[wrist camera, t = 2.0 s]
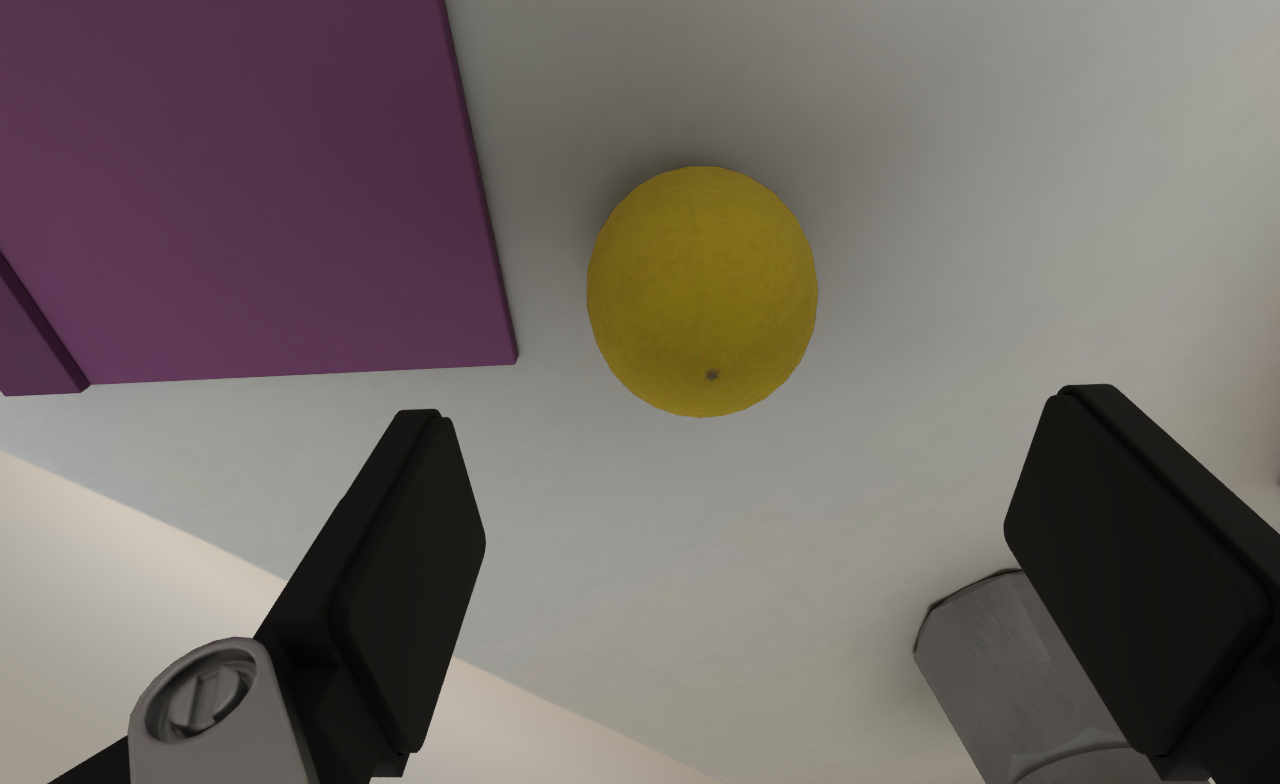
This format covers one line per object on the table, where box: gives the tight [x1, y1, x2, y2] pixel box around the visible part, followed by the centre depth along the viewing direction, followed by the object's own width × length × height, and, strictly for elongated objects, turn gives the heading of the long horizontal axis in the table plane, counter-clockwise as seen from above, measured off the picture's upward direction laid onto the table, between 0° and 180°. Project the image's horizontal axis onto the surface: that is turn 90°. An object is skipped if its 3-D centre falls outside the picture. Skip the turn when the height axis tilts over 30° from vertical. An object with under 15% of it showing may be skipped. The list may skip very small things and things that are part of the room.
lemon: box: [587, 166, 818, 418], centre depth 15 cm, size 6×6×8 cm
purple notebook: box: [0, 0, 518, 396], centre depth 17 cm, size 14×18×1 cm
